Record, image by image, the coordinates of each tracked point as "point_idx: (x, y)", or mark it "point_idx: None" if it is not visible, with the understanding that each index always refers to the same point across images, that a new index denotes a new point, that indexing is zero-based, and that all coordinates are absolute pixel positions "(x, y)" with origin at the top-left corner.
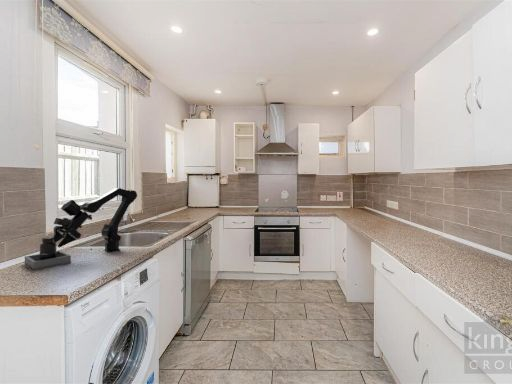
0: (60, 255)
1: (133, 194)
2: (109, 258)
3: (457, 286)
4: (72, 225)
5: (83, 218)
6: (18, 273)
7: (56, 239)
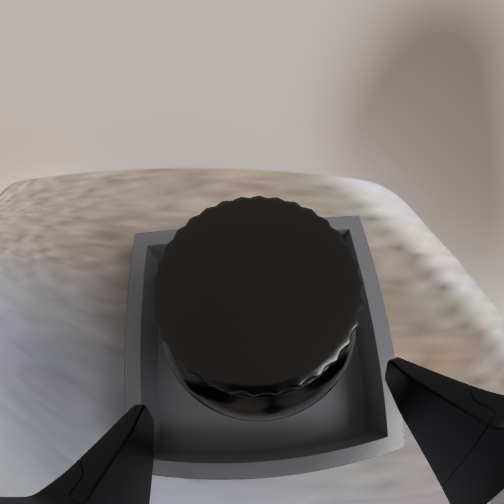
0: (331, 444)
1: None
2: None
3: None
4: None
5: None
6: (166, 205)
7: (434, 435)
